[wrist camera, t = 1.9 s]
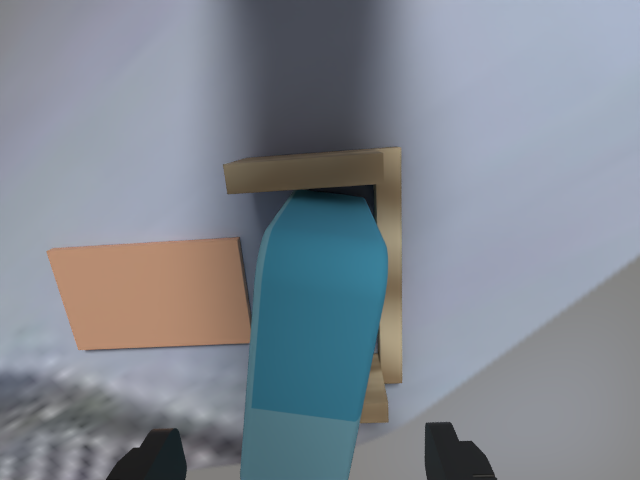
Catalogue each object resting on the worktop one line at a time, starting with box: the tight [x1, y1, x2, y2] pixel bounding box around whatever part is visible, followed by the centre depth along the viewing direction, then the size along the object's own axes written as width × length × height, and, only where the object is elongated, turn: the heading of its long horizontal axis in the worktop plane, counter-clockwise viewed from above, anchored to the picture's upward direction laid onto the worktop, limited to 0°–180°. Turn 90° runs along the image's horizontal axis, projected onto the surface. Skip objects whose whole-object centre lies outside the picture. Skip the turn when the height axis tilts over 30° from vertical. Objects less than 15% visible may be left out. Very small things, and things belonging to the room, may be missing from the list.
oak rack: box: [223, 147, 402, 423], centre depth 22 cm, size 16×10×5 cm, turn 4°
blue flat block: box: [240, 189, 388, 480], centre depth 19 cm, size 12×4×12 cm, turn 173°
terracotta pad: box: [46, 237, 252, 350], centre depth 25 cm, size 8×14×1 cm, turn 94°
